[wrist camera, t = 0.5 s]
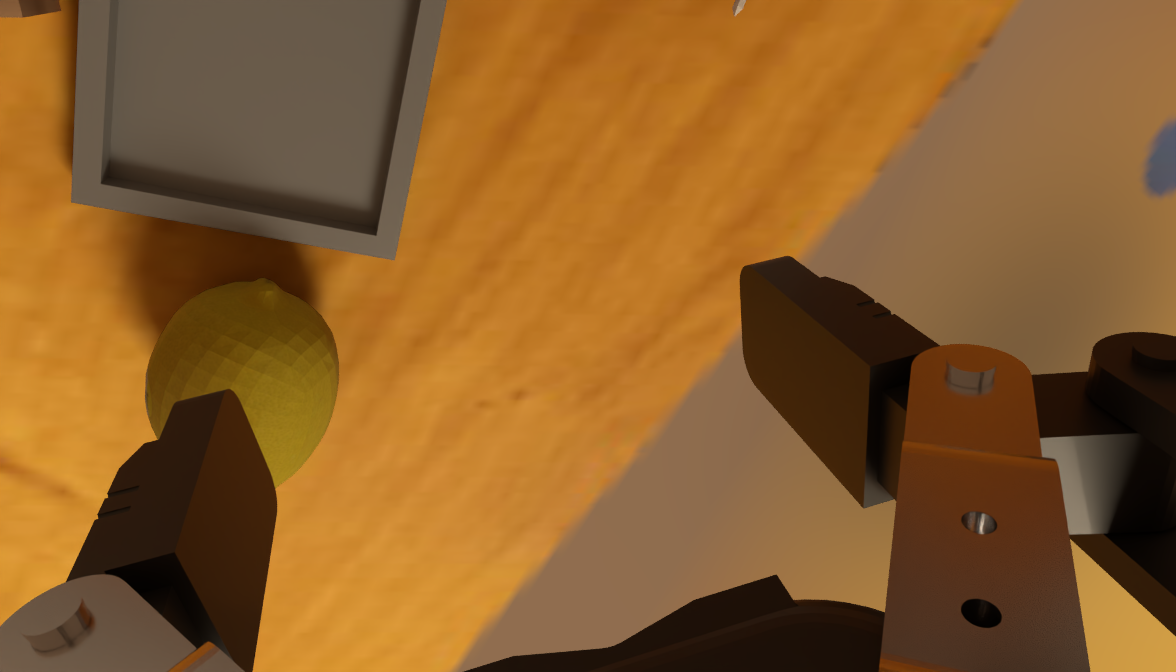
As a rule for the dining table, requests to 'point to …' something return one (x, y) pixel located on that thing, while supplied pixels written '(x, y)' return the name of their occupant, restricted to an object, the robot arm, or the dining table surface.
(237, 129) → the tray
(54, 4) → the walnut cube
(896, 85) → the dining table surface
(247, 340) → the lemon
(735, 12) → the robot toy
